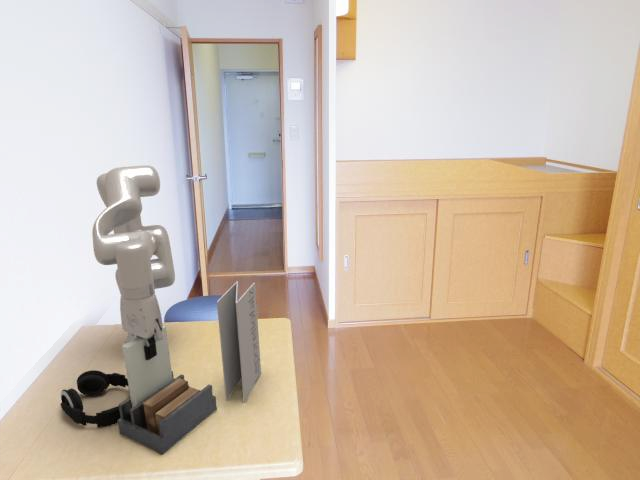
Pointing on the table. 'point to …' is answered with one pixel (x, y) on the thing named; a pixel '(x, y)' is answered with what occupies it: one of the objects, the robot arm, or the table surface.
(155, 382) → the pale grey panel
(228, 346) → the brochure
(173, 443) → the rack
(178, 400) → the offcut short
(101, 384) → the headphones
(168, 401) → the offcut tall
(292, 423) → the table surface
